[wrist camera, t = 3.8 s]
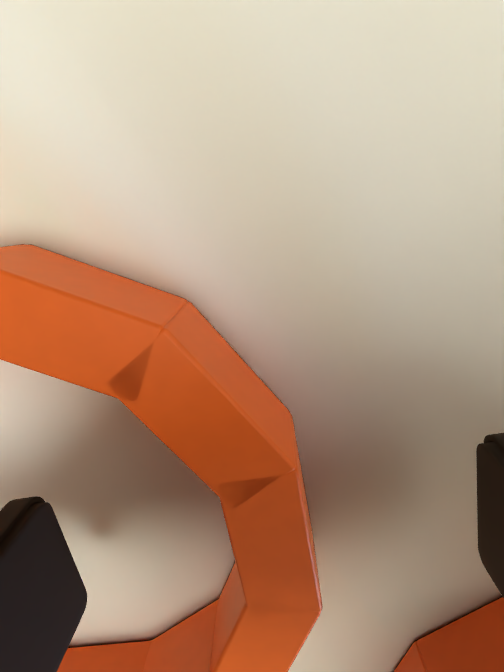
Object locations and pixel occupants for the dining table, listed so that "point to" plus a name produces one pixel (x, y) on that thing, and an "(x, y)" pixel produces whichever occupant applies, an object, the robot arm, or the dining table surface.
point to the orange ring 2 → (461, 644)
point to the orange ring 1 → (180, 450)
